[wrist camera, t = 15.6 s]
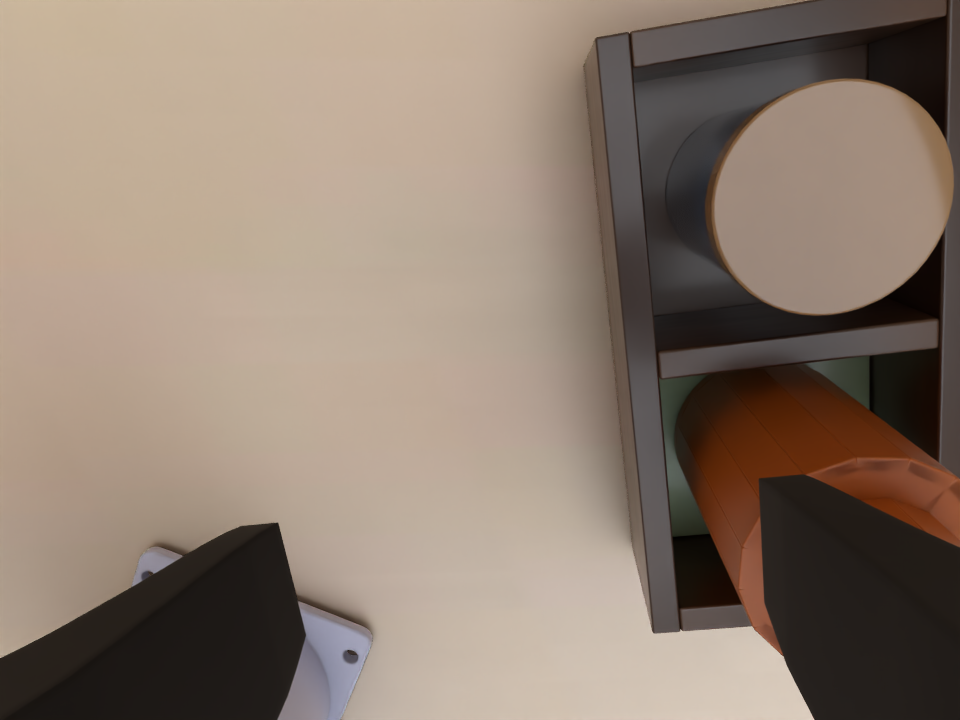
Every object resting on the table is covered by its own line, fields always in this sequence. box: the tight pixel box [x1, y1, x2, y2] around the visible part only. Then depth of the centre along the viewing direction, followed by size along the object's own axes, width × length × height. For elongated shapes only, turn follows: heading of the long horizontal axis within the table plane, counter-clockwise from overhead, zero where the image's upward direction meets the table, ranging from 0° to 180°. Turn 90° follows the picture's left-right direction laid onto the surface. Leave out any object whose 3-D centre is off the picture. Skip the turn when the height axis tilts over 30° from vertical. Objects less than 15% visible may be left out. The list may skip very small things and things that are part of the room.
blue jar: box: [666, 78, 954, 316], centre depth 15 cm, size 4×4×6 cm
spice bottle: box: [674, 364, 960, 656], centre depth 16 cm, size 5×5×8 cm
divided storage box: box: [583, 0, 960, 633], centre depth 18 cm, size 7×14×4 cm, turn 8°
